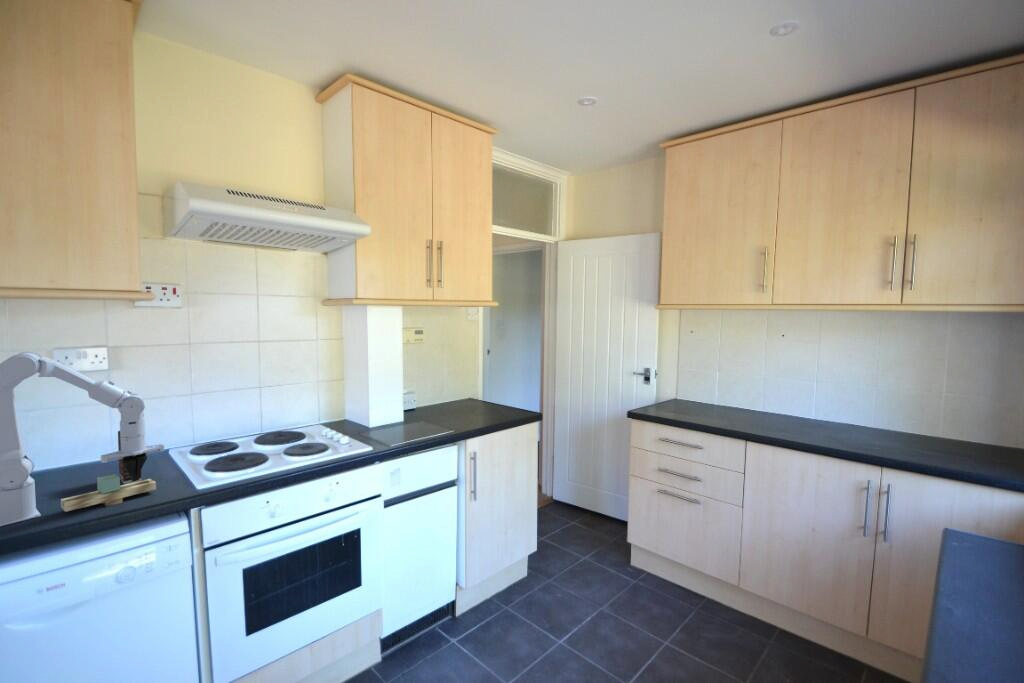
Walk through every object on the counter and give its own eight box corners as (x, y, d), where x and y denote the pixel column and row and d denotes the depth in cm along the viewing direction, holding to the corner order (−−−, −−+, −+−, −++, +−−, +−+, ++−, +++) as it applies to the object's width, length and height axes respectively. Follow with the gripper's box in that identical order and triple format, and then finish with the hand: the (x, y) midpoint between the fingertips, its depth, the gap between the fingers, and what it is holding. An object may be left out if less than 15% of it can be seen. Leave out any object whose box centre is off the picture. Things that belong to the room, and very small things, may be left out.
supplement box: (142, 480, 149) (140, 432, 148) (123, 484, 145) (121, 435, 145) (137, 474, 155) (135, 428, 154) (118, 477, 151) (116, 430, 150)
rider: (102, 497, 129) (101, 481, 129) (97, 494, 132) (97, 477, 131) (120, 493, 132) (119, 477, 132) (115, 489, 135) (114, 473, 135)
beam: (66, 516, 122) (65, 504, 122) (60, 510, 126) (60, 498, 126) (157, 493, 139) (156, 482, 138) (149, 488, 142) (149, 477, 142)
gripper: (104, 443, 127) (107, 490, 128) (167, 432, 139) (168, 476, 140) (97, 438, 132) (100, 485, 132) (158, 428, 143) (160, 471, 144)
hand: (134, 480), depth 137 cm, fingers closed
